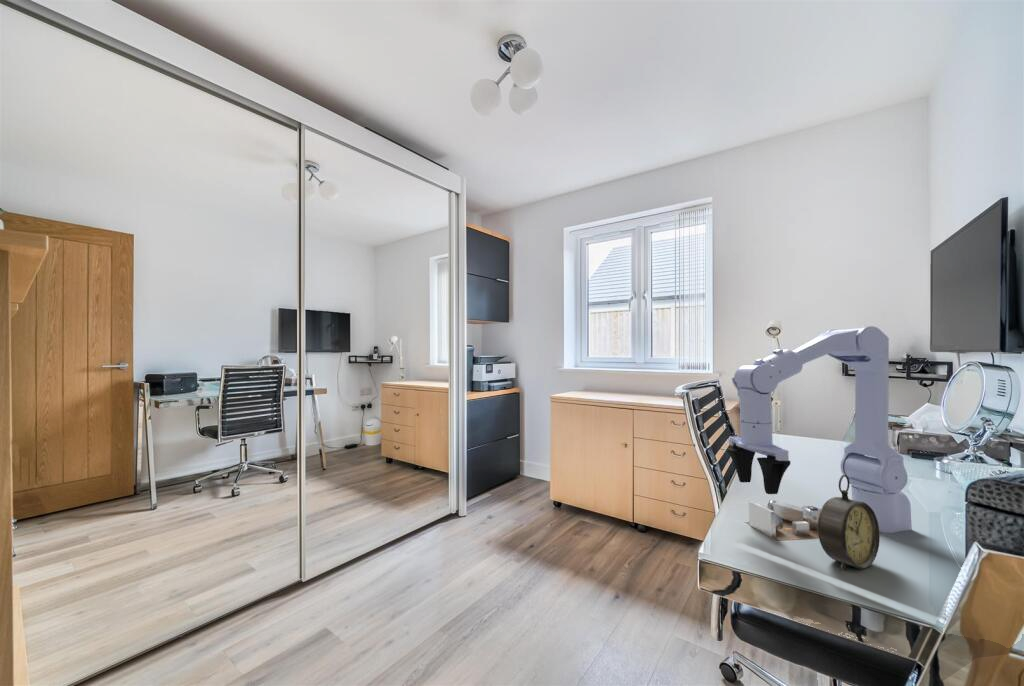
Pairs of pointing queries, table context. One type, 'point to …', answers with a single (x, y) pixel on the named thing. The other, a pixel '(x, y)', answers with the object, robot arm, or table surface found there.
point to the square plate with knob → (772, 521)
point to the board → (788, 535)
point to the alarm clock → (848, 530)
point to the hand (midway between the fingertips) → (757, 487)
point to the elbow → (796, 513)
